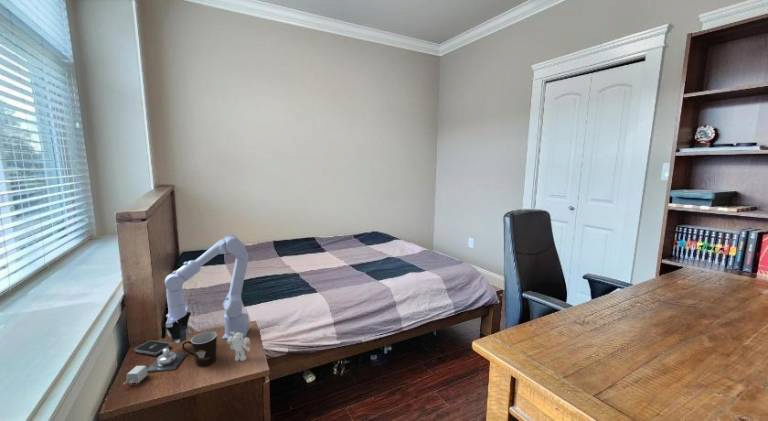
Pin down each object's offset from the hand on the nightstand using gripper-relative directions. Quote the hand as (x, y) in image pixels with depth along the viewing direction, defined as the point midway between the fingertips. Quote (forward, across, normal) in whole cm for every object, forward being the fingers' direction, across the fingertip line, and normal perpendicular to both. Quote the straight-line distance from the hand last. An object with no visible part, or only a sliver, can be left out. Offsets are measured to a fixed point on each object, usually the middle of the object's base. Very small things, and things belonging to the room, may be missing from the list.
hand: (180, 335), depth 131 cm
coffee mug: (+6, +10, +12) cm, 17 cm away
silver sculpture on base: (+6, +9, -1) cm, 11 cm away
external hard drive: (+7, -1, -11) cm, 13 cm away
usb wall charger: (+6, +19, -7) cm, 21 cm away
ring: (+2, 0, 0) cm, 2 cm away
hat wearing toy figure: (+6, +11, +26) cm, 29 cm away
